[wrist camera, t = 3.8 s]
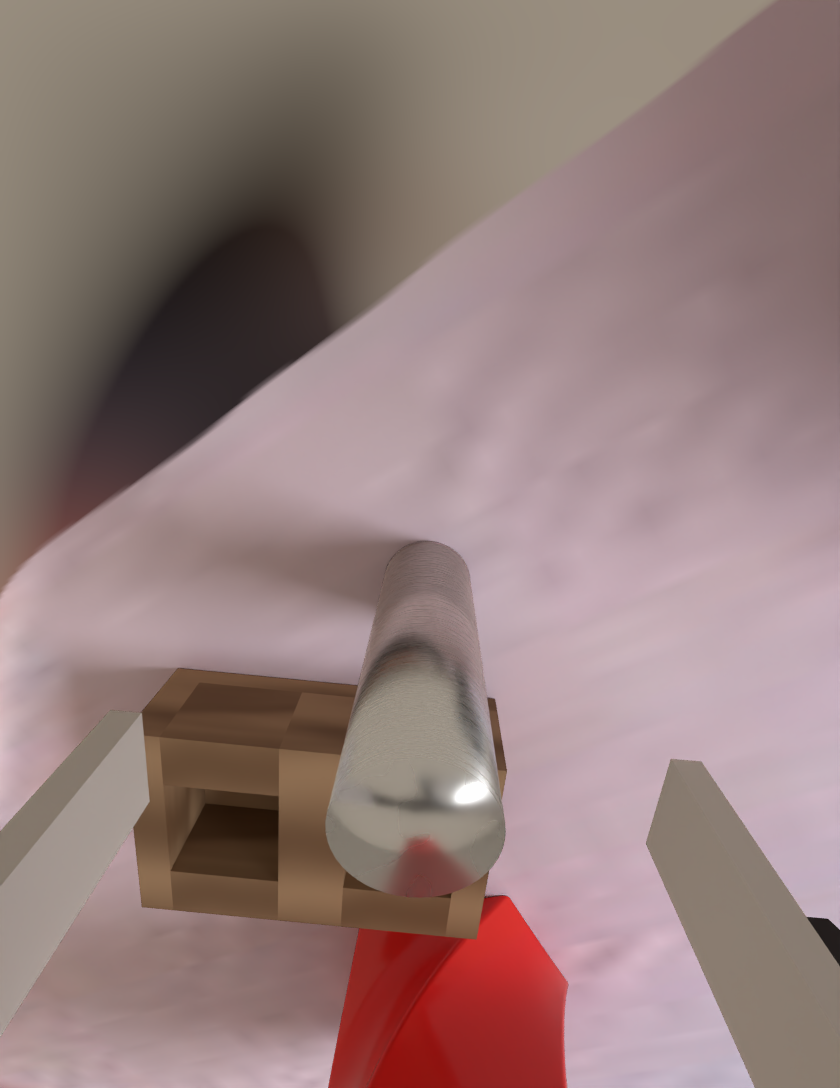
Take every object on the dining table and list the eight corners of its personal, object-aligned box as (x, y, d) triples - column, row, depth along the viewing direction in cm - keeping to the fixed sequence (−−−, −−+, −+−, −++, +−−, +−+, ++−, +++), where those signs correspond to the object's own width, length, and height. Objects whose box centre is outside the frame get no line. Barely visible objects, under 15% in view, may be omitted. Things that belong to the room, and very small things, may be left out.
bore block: (177, 668, 27) (123, 733, 22) (495, 698, 27) (506, 771, 22) (187, 821, 30) (141, 906, 26) (470, 849, 30) (476, 939, 26)
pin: (387, 537, 25) (328, 750, 11) (475, 545, 25) (518, 769, 11) (381, 615, 26) (322, 888, 13) (464, 624, 26) (492, 905, 13)
